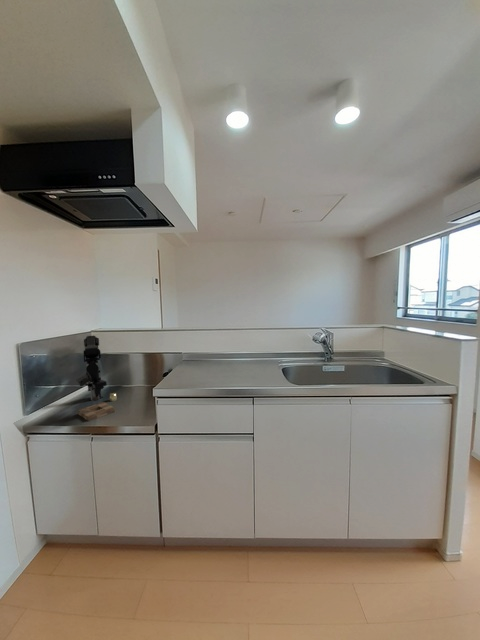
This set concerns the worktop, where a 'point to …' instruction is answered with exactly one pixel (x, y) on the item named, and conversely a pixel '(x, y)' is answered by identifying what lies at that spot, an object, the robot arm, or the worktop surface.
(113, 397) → the short pin
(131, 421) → the worktop surface
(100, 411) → the hole plate
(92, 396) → the tall pin
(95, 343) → the robot arm
